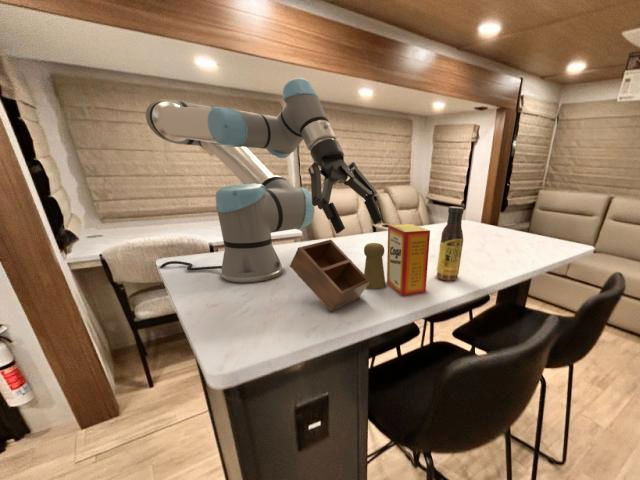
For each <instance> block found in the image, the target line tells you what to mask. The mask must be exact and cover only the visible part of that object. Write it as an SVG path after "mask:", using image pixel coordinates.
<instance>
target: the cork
mask: <svg viewBox="0 0 640 480" xmlns="http://www.w3.org/2000/svg"><path fill="white" fill-rule="evenodd" d="M363 254H364V256H365V264H364V272H363V274H364V275H365V276H366V277H367V278H368V279H369V280H370V283H369V284H368V286H367V287H366V288H365V289H372V290H374V289H375V290H377V289H383V288H384V287H385V286H386V278H385V277H386V276H385V269H384V261H383V257H384V256H385V255H384V254H385V247H384V246H383V244H381V243H378V242H370V243H366V244H365V246H364V247H363Z"/></svg>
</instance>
